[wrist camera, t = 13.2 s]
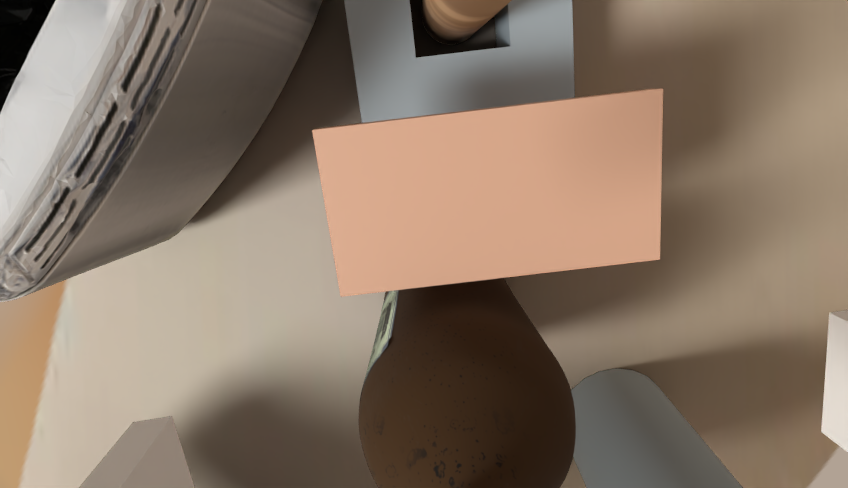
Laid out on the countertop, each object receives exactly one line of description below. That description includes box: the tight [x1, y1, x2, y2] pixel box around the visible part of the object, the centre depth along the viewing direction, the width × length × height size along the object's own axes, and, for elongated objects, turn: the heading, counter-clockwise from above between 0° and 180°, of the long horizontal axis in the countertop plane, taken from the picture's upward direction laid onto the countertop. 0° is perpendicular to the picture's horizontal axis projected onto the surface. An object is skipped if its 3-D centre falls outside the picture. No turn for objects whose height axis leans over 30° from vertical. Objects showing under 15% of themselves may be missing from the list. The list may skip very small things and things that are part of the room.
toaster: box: [0, 0, 322, 302], centre depth 25 cm, size 17×30×19 cm, turn 142°
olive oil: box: [359, 278, 576, 488], centre depth 28 cm, size 11×11×25 cm
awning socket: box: [312, 0, 663, 297], centre depth 29 cm, size 16×20×13 cm
